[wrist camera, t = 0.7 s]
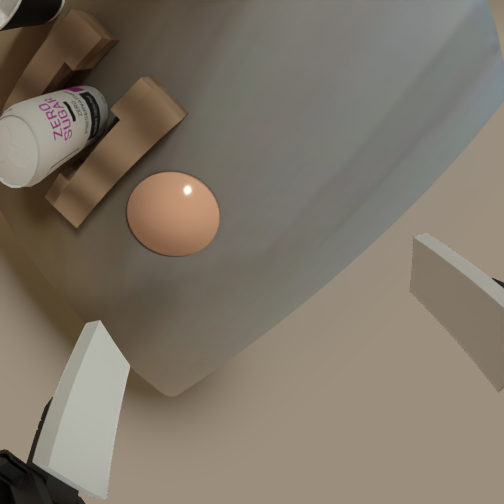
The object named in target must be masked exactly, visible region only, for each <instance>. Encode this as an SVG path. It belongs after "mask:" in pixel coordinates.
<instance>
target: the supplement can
mask: <svg viewBox="0 0 504 504" xmlns="http://www.w3.org/2000/svg"><path fill="white" fill-rule="evenodd" d="M107 120H108V106H107V103H106V101H105V98H104V96H103V95H102V94H101V93H100V92H99V91H98V90H97V89H96V88H93V87H90V86H87V85H84V86H76V87H72V88H67V89H63V90H59V91H55V92H52V93H48V94H45V95H41V96H38V97H35V98H31V99H28V100H25V101H22V102H19V103H17V104H14V105H12V106H11V107H9V108H8V109H7V110H6V111H4V113H3V114H2V116H1V117H0V181H1V182H2V183H3V184H5V185H7V186H9V187H11V188H21V187H31V186H33V185H35V184H37V183H39V182H40V181H42V180H43V179H44V178H45V177H47V176H48V175H49V174H50V173H52V172H53V171H54V170H55V169H57V168H58V167H59V166H61V165H62V164H63V163H65V162H66V161H67V160H69V159H70V158H72V157H73V156H74V155H76V154H77V153H79V152H80V151H82V150H83V149H85V148H86V147H87V146H89V145H90V144H92V143H93V142H95V141H96V140H97V139H98V138H99V137H100V136H101V135H102V133H103V131H104V130H105V128H106V126H107Z"/></svg>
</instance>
